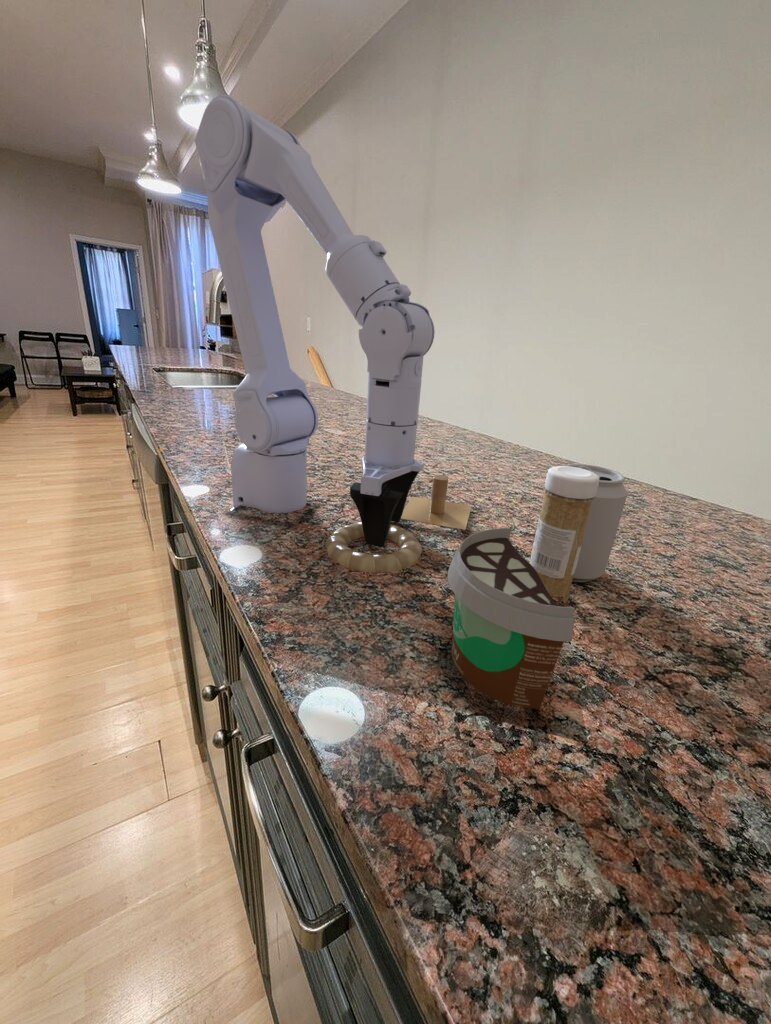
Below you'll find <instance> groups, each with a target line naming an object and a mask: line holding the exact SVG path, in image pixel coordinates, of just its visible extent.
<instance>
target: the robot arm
mask: <svg viewBox="0 0 771 1024" xmlns="http://www.w3.org/2000/svg"><path fill="white" fill-rule="evenodd" d="M194 143H195V148H196V152H197V157H198V161H199V164H200V168H201V173H202V178H203V181H204V186H205V189H206V190H205V191H206V194H207V195H206V197H207V198H206V199H207V215H208V222H209V226H210V230H211V234H212V235H211V236H212V239H213V243H214V247H215V251H216V255H217V259H218V264H219V268H220V271H221V276H222V281H223V285H224V289H225V293H226V297H227V301H228V305H229V310H230V313H231V317H232V322H233V326H234V330H235V334H236V338H237V343H238V346H239V350H240V355H241V360H242V364H243V367H244V371H245V377H244V378H243V379H242V381H240V383H239V384H238V386H237V387H236V388H235V390H234V391H233V393H232V396H233V401H234V405H235V414H234V427H235V430H236V433H237V435H238V436H237V437H238V438H239V440H240V441H241V442H242V443H241V444H240V445H239V446H238V447H236V449H235V450H234V451H233V452H234V453H233V455H232V458H231V462H230V475H231V489H232V504H233V507H232V508H230V511H233V510H234V509H237V508H238V507H239V506H243V507H249V508H254V509H256V510H259V511H262V512H266V513H271V514H272V513H273V514H284V513H285V514H286V513H293V512H296V511H299V510H302V509H304V508H305V507H306V506H307V504H308V502H307V500H308V497H307V496H308V493H307V492H308V491H307V489H308V487H307V486H308V484H307V483H308V482H307V481H308V476H307V474H308V473H307V471H308V470H307V469H308V468H307V464H308V463H307V462H308V461H307V459H308V458H307V455H308V454H307V452H308V451H307V448H308V446H310V438H311V437H312V436H313V435H315V433H316V431H317V430H318V427H319V414H318V410H317V407H316V405H315V403H314V402H313V400H312V398H311V397H310V395H309V392H308V388H307V384H306V382H305V381H304V380H303V379H302V378H301V377H300V376H299V375H298V374H297V373H296V372H295V371H294V370H293V369H292V368H291V366H290V362H289V356H288V352H287V347H286V343H285V338H284V334H283V329H282V324H281V319H280V315H279V310H278V305H277V301H276V297H275V291H274V287H273V282H272V278H271V273H270V268H269V263H268V260H267V254H266V249H265V245H264V241H263V237H262V229H263V227H264V225H265V224H266V223H268V222H270V221H271V220H272V219H273V218H274V216H276V214H277V213H278V212H279V210H280V209H282V207H283V206H284V205H285V204H286V203H288V205H289V206H290V208H291V209H292V210H293V211H294V213H295V214H296V216H297V217H298V218H299V220H300V221H301V222H302V223H303V225H304V226H305V228H306V230H307V231H308V232H309V233H310V234H311V236H312V237H313V238H314V240H315V241H316V242H317V244H318V245H319V247H320V248H321V249H322V251H323V252H324V253H325V255H326V264H325V275H326V276H327V278H328V280H329V281H330V283H331V284H332V287H334V289H335V290H336V292H337V294H339V296H340V298H341V299H342V301H343V303H344V304H345V306H346V307H347V308H348V310H349V312H350V314H351V315H352V316H353V317H354V319H355V321H356V322H357V324H358V325H359V326H360V327H361V328H359V329H358V339H359V344H360V347H361V349H362V351H363V352H364V354H365V356H366V360H367V370H366V371H367V372H366V373H368V375H367V377H368V378H367V380H368V381H367V398H366V399H367V400H366V418H365V435H364V437H365V438H364V439H365V440H364V442H365V443H364V455H363V457H362V460H361V461H362V462H361V465H362V474H361V476H360V482H357V481H355V482H353V484H352V485H351V486H350V487H349V495H350V496H349V497H350V498H351V499H352V501H353V503H354V505H355V506H356V509H357V511H358V514H359V518H360V521H361V522H360V523H362V527H363V532H364V537H363V538H364V542H365V544H366V545H369V546H374V547H379V548H383V547H384V546H385V544H386V542H387V540H388V539H387V536H388V532H389V527H390V525H391V522H392V523H393V522H394V523H400V521H401V520H402V519H401V516H402V513H403V510H404V509H405V507H406V502H407V499H408V496H409V494H410V490H411V488H412V486H413V484H414V481H415V479H416V478H417V476H418V475H419V473H420V472H422V471H423V469H424V467H425V462H424V461H421V460H416V459H415V454H416V453H415V452H416V442H417V434H418V433H417V432H418V421H419V412H420V400H421V392H422V391H421V389H422V377H423V367H424V356H425V355H426V354H428V353H429V351H430V349H431V348H432V345H433V343H434V340H435V325H434V322H433V319H432V317H431V315H430V311H429V309H428V308H427V307H426V306H424V305H422V303H421V304H420V303H417V302H412V301H410V296H411V295H412V291H411V290H410V288H409V286H408V285H406V284H403V283H400V281H399V280H398V278H397V277H396V275H395V273H394V272H393V271H392V269H391V267H390V266H389V264H388V263H387V261H386V260H385V258H384V257H385V256H386V255H387V254H388V253H387V252H388V251H387V250H386V249H385V247H384V245H383V244H382V243H381V242H379V241H377V240H374V239H373V240H372V238H370V237H369V236H367V235H364V234H354V233H353V231H352V229H351V228H350V226H349V224H348V222H347V220H346V219H345V217H344V216H343V214H342V212H341V210H340V209H339V207H338V206H337V204H336V202H335V200H334V199H333V197H332V195H331V194H330V192H329V191H328V189H327V187H326V185H325V183H324V182H323V179H322V178H321V176H320V174H319V173H318V171H317V170H316V168H315V166H314V164H313V162H312V161H313V160H312V156H311V154H310V153H309V152H308V151H307V150H306V149H305V148H304V147H303V146H302V145H301V143H300V140H299V139H298V138H297V136H296V135H295V134H294V133H293V132H291V131H290V130H288V129H286V128H281V127H279V126H277V124H275V123H272V122H271V121H270V120H268V119H266V118H265V117H262V116H261V115H259V114H257V113H255V111H252V110H251V109H249V108H247V107H246V106H244V105H242V104H241V103H240V102H239V100H237V99H235V97H233V96H231V95H229V94H219V95H216V96H215V97H213V98H211V100H210V101H209V102H208V104H207V105H206V108H205V109H204V112H203V114H202V117H201V120H200V124H199V126H198V129H197V132H196V136H195V138H194ZM269 395H275V396H271V397H268V396H269Z"/></svg>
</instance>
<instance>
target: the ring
mask: <svg viewBox="0 0 771 1024" xmlns="http://www.w3.org/2000/svg"><path fill="white" fill-rule="evenodd" d="M361 538H365V537H364V532H363V527H362V522H353V523H350V524H347V525H344V526H340V527H338V528H337V529H336V530H334V532H332V533H331V535H330V536H328V538H327V539H326V541H325V545H324V546H325V550H326V553H327V556H328V558H329V559H331V560H332V561H334V562H336V563H337V564H339V565H340V566H342V567H343V568H346V569H349V570H355V571H360V572H364V573H370V574H381V573H391V572H399V571H403V570H404V569H407V568H409V567H412V566H414V565H416V564H417V563H418V562H419V560H420V558H421V555H422V553H423V547H422V544H421V543H420V542H419V540H418V538H417V537H416V536H415V535H414V533H412V532H411V531H409V530H406V529H405V528H402V527H400V526H398V525H395V524H390V527H389V532H388V536H387V539H386V540H389V541H392V542H393V543H396V544H397V546H398V548H399V550H397V551H393V552H391V553H386V554H369V553H364V552H360V551H359V552H358V551H356V550H354V549H352V548H350V547H349V545H350V543H351V542H352V541H355V540H357V539H361Z"/></svg>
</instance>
